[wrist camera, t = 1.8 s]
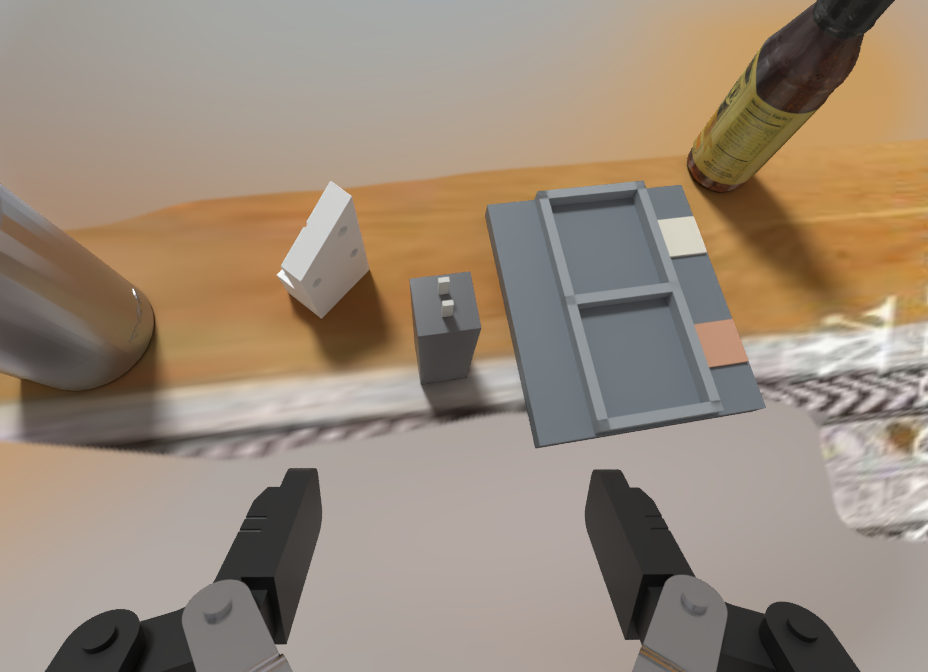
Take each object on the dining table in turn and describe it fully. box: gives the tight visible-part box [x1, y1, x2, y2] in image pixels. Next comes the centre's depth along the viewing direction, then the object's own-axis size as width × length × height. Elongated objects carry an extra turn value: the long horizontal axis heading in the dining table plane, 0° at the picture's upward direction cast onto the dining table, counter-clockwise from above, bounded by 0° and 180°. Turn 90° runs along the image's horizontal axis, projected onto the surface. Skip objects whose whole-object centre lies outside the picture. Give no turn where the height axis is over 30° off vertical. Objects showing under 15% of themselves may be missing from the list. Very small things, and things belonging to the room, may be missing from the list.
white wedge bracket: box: [277, 181, 370, 319], centre depth 36 cm, size 4×10×9 cm, turn 142°
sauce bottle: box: [687, 0, 895, 192], centre depth 37 cm, size 6×6×20 cm
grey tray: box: [485, 181, 766, 448], centre depth 39 cm, size 18×21×3 cm
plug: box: [410, 272, 481, 384], centre depth 32 cm, size 4×4×13 cm
